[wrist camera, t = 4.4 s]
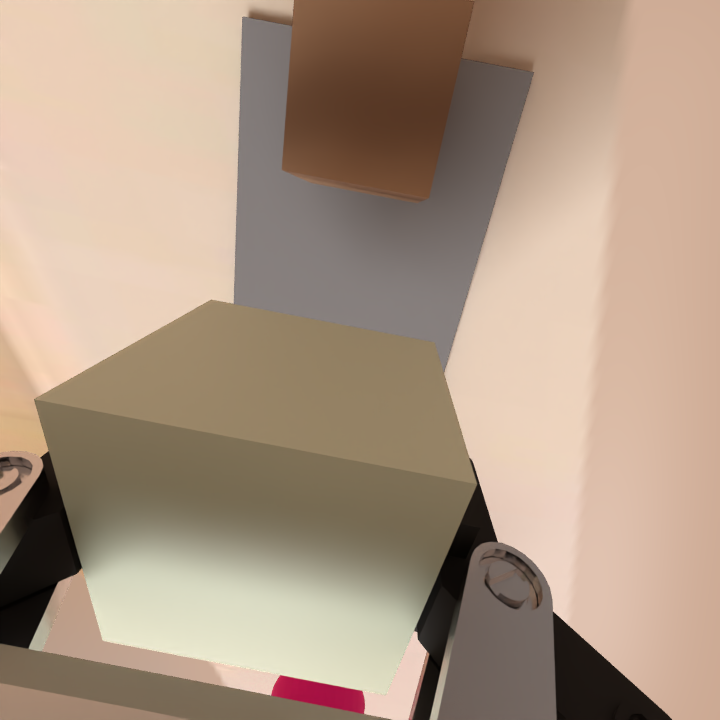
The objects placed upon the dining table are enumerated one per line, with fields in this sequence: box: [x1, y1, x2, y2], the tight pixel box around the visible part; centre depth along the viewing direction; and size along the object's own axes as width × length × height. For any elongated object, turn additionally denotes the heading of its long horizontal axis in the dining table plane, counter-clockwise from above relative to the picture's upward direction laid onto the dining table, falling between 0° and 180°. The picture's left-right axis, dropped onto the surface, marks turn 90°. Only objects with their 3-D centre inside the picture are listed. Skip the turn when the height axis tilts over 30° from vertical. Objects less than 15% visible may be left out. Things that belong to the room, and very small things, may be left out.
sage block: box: [34, 300, 477, 695], centre depth 8 cm, size 6×6×5 cm
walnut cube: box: [282, 0, 474, 203], centre depth 13 cm, size 5×5×5 cm
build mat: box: [234, 17, 534, 372], centre depth 20 cm, size 28×12×1 cm, turn 170°
